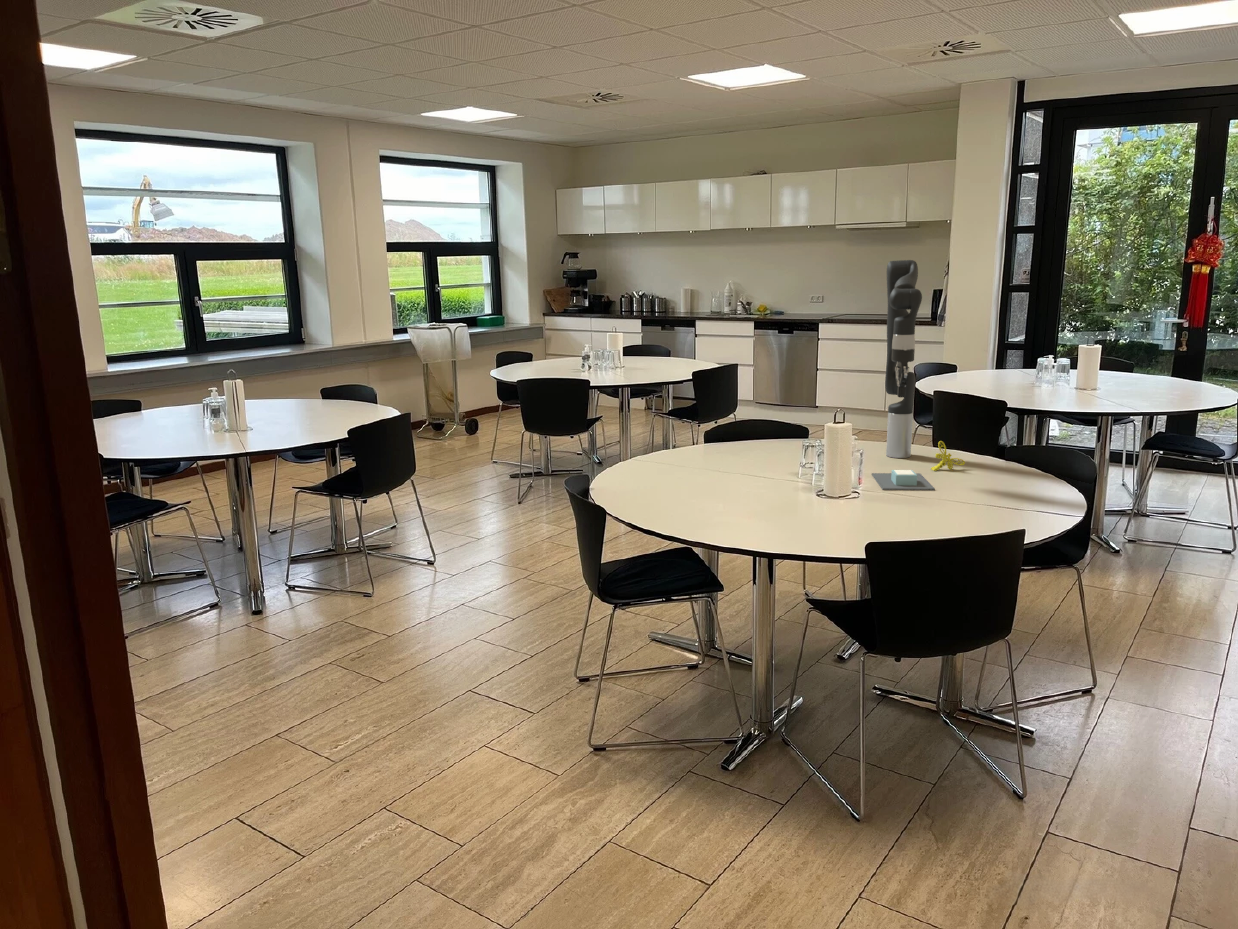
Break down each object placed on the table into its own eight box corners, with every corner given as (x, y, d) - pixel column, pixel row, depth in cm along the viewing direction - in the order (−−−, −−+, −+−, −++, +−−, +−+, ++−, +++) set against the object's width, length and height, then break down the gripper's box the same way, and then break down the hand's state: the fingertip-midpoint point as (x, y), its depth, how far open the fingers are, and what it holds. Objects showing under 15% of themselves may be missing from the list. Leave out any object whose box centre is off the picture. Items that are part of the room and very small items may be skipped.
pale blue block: (891, 469, 315) (896, 474, 308) (912, 469, 315) (917, 474, 307) (891, 479, 316) (895, 485, 308) (911, 479, 315) (916, 485, 308)
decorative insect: (945, 482, 334) (964, 461, 333) (948, 484, 331) (968, 463, 330) (920, 460, 332) (939, 439, 331) (923, 462, 329) (943, 441, 328)
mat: (871, 474, 326) (871, 473, 326) (920, 474, 325) (920, 473, 324) (882, 490, 305) (882, 488, 305) (934, 490, 303) (934, 488, 303)
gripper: (888, 345, 320) (886, 394, 324) (895, 349, 307) (893, 400, 311) (910, 345, 319) (908, 394, 323) (918, 349, 306) (916, 400, 310)
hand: (901, 397), depth 317 cm, fingers closed
